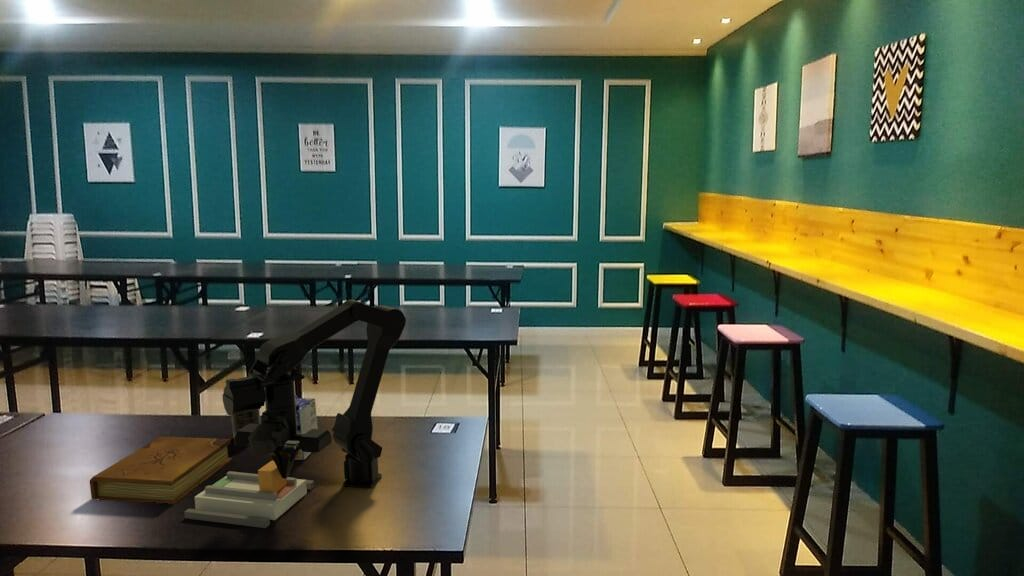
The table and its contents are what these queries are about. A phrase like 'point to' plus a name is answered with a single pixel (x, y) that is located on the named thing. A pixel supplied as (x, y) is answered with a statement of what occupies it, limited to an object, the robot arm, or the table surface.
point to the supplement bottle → (245, 420)
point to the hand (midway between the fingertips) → (285, 477)
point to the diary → (161, 470)
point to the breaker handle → (270, 478)
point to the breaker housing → (249, 496)
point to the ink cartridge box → (305, 420)
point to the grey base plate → (233, 515)
